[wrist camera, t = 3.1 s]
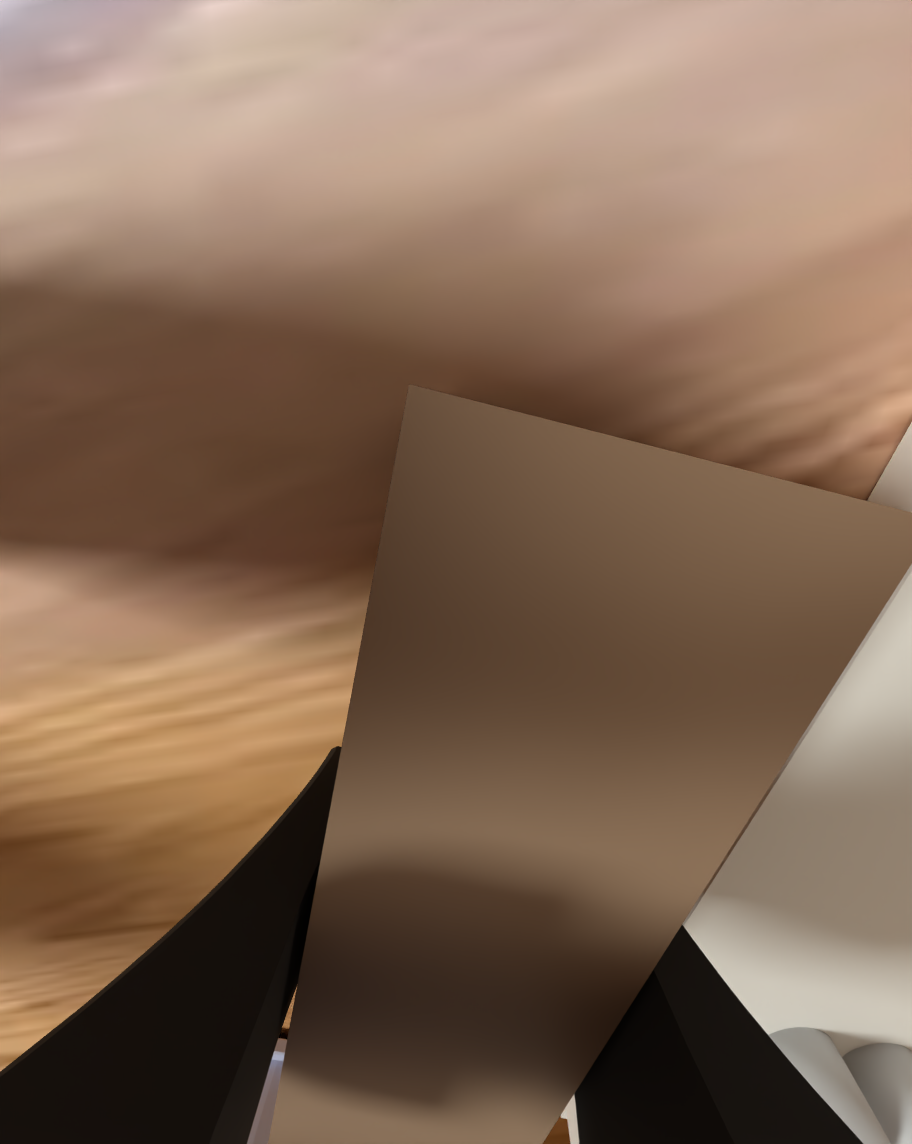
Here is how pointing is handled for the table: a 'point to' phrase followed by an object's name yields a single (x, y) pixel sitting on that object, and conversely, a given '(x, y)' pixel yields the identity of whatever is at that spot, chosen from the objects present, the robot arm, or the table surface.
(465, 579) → the brown wooden bar
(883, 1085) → the shelf stand
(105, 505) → the table surface
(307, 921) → the robot arm
